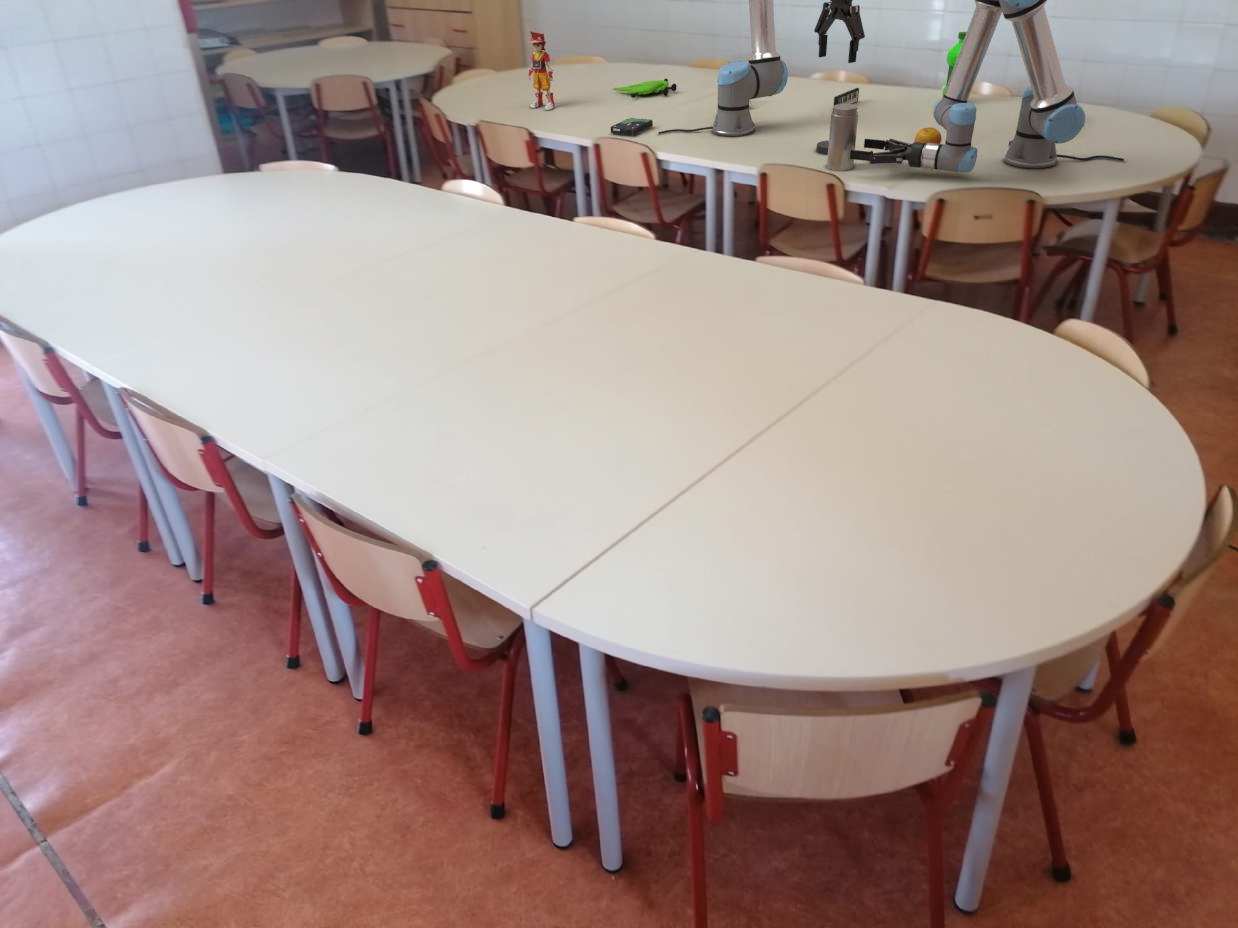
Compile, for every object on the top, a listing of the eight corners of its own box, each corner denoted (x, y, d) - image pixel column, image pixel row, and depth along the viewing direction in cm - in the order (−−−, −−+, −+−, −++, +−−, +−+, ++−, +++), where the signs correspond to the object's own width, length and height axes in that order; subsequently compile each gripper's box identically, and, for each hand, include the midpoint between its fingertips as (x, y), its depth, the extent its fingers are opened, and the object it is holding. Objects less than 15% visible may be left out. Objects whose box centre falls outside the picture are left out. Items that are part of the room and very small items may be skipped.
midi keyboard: (835, 110, 353) (837, 97, 350) (833, 110, 354) (834, 97, 351) (858, 101, 363) (859, 88, 361) (855, 101, 364) (856, 88, 361)
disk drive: (633, 137, 337) (653, 126, 347) (633, 129, 336) (652, 119, 346) (610, 134, 342) (630, 124, 352) (609, 127, 340) (630, 117, 350)
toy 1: (525, 109, 381) (517, 32, 364) (534, 104, 388) (527, 28, 371) (550, 110, 377) (543, 32, 360) (559, 105, 384) (553, 28, 367)
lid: (819, 146, 315) (820, 139, 314) (846, 148, 312) (846, 141, 310) (813, 153, 308) (814, 147, 307) (840, 155, 305) (840, 148, 304)
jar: (858, 166, 294) (864, 105, 284) (843, 172, 290) (848, 111, 279) (836, 161, 300) (841, 102, 289) (821, 167, 295) (826, 107, 284)
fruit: (909, 141, 301) (924, 120, 298) (910, 144, 309) (925, 123, 306) (930, 155, 300) (945, 134, 297) (930, 158, 308) (946, 137, 305)
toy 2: (686, 85, 398) (631, 84, 414) (685, 72, 395) (629, 72, 411) (651, 104, 381) (596, 103, 397) (650, 92, 378) (594, 91, 394)
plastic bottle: (973, 101, 354) (984, 32, 339) (955, 106, 349) (966, 36, 335) (952, 97, 361) (962, 29, 346) (934, 102, 356) (944, 33, 342)
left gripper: (806, -15, 288) (802, 56, 301) (863, -9, 271) (856, 66, 283) (823, -18, 292) (818, 53, 304) (881, -12, 274) (873, 63, 286)
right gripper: (910, 179, 273) (843, 171, 283) (933, 156, 290) (868, 150, 300) (914, 154, 269) (845, 147, 278) (936, 133, 286) (871, 127, 295)
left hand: (836, 59), depth 293 cm, fingers open, 13 cm apart
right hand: (857, 148), depth 289 cm, fingers open, 13 cm apart
